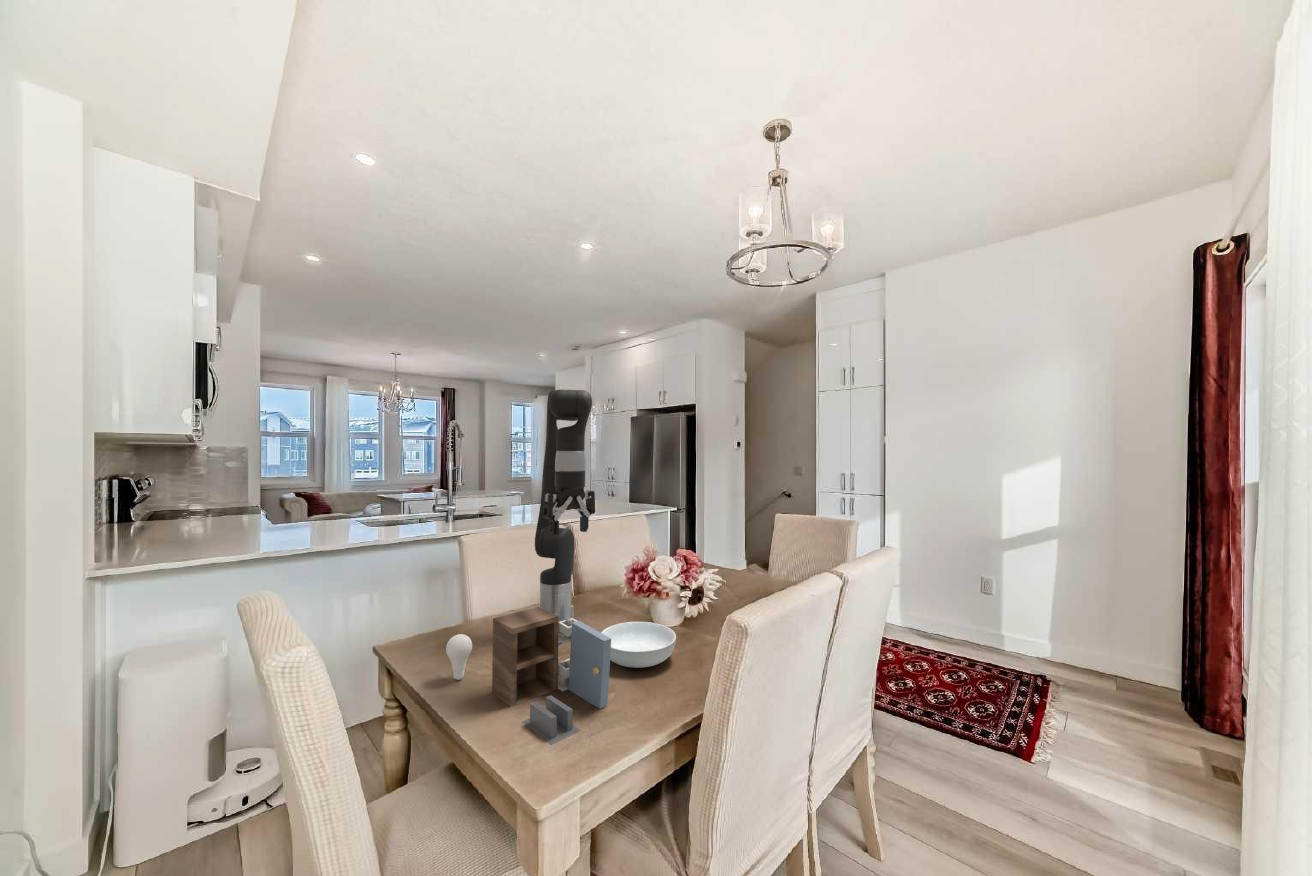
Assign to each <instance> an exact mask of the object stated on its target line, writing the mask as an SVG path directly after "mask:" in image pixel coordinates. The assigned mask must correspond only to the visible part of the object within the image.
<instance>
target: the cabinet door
mask: <svg viewBox="0 0 1312 876" xmlns="http://www.w3.org/2000/svg"><path fill="white" fill-rule="evenodd" d="M571 620H572V626H569V627H568V626H567V625H565V620H564V621H560V622H559V632H561V633H563V634H564V635H566V636H567V637H568V636H571V641H570V648H569V649H570V653H569V658H566V659H564V660H561V661H558V674H559V675H561V676H562V677H564V678H565V679H566V678H568V677H569V685H568V690H567V691H570V692H571V693H573V694H575V695H576V696H578V697H580V698H581V699H583V700H584V701H587V702H588V703H589V704H591V705H592V706H595V707H596V708H598V709H599V710H601V709H603V708H605V707H607V706H608V701H609V699H608V698H609V687H610V670H611V669H610V665H611V660H610V652H611V638H609V637H607V636H606V635H604V634H602V633H601V632H600V631H599V630H596V629H595V628H594V627H591V626H589V625H587V624H586V623H584V622H582V621H581V620H577V619H575V618H574V619H573V618H571ZM566 661H570V667H569V668H565V662H566Z"/></svg>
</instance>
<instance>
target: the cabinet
mask: <svg viewBox="0 0 1312 876" xmlns="http://www.w3.org/2000/svg"><path fill="white" fill-rule="evenodd" d="M565 625H567V626H568V627H569V626H572V620H571V619H567V620H565ZM558 642H560V643H559V644H562V645H564V644H567V643H571V636H568V637H567V636H566V635H564V634H563V633H561V632H559V616H557V615H555V614H553V613H551V612H548V611H546V610H544V609H542V608H540V606H539V607H533V608H529V609H524V610H521V611H517V612H513V613H508V614H504V615H501V616H498V617H494V618H492V661H491V662H492V666H491V667H492V669H491V670H492V674H491V675H492V676H491V677H492V678H491V679H492V681H491V682H492V683H491V684H492V685H491V692H492V693H493V695H495V696H496V697H498V698H499V699H500V700H502V701H503V702H504V703H506V704H507V705H508V706H510V707H514V706H518V705H520V704H522V703H525V702H527V701H529V700H532V699H535V698H538V697H540V696H543V695H546V694H548V693H550V692H553V691H555V690H559V691H561V692H564V691H566V690H567V691H569V690H568V685H569V677H568V678H566V679H565V678H564V677H562V676H561V675H559V674H558V662H559V644H558ZM569 667H570V661H566V662H565V668H569Z"/></svg>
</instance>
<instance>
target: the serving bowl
mask: <svg viewBox="0 0 1312 876" xmlns="http://www.w3.org/2000/svg"><path fill="white" fill-rule="evenodd" d="M600 633H602V634H604V635H606V636H607V637H609V638H611V652H610V662H613V663H614V664H617V665H619V666H622V667H626V668H635V669H636V668H637V669H638V668H640V669H641V668H649V667H653V666H656V665H659V664H661V663H662V662H664V661H666V660H667V659H668V658H669V657H670V656H671V654H672V653H673V651H674V649H675V646H676V642H677V634H676V633H675V631H674V630H673V629H672V628H670V627H668V626H666V625H663V624H659V623H656V622H651V621H628V622H627V621H626V622H622V623H621V622H620V623H616V624H614V625H610V626H608V627H607V628H604V629H603V630H602V631H601V632H600Z"/></svg>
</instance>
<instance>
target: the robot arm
mask: <svg viewBox="0 0 1312 876" xmlns="http://www.w3.org/2000/svg"><path fill="white" fill-rule="evenodd" d="M546 401H547V403H546V432H545V433H546V435H545V436H546V437H545V447H544V456H543V457H544V458H543V466H542V479H541V480H542V482H541V494H540V495H541V496H540V504H539V505H540V506H539V512H538V519H537V523H536V529H535V536H534V551H535V553H536V554H537V556H538V557H540V558H546V559H554V565H553V566H552V567H551V568H546V569H544V570H542V571H541V573H540V575H539V608H542V609H544V610H546V611H548V612H551V613H553V614H555V615H557V616H559V622H560V621H564V620H567V619H571V618H573V619H575V615H574V613H575V609H574V605H573V604H572V575H573V572H574V571H573V569H574V561H575V560H574V557H575V556H574V555H575V545H576V544H575V536H574V535H575V534H574V533H573V531H572V530H571V529H570V528H566V527H560V521H559V519H560V518H561V516H562V515H563V514H564V513H565V512H566V511H570V510H576V511H577V512H578V514H579V515H580V517H579V531H580V532H582V533H587V532H588V530H589V519H590V518H589V517H590V516H591V515H595V513H596V496H595V495H596V494H595V491H594V490H586V491H585V487H586V454H585V446H586V445H585V442H586V440H585V438H586V428H587V424H588V420H589V417H590V414H591V411H592V407H593V398H592V395H591V394H590V393H589V392H588V390H584V389H552V390H550V391H549V393H548V396H547V400H546ZM557 421H566V422H567V421H568V422H575V424H573V425H569V426H564V427H559V428H558V424H557ZM584 499H585V502H584ZM559 644H561V643H560V642H558V645H559Z"/></svg>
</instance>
